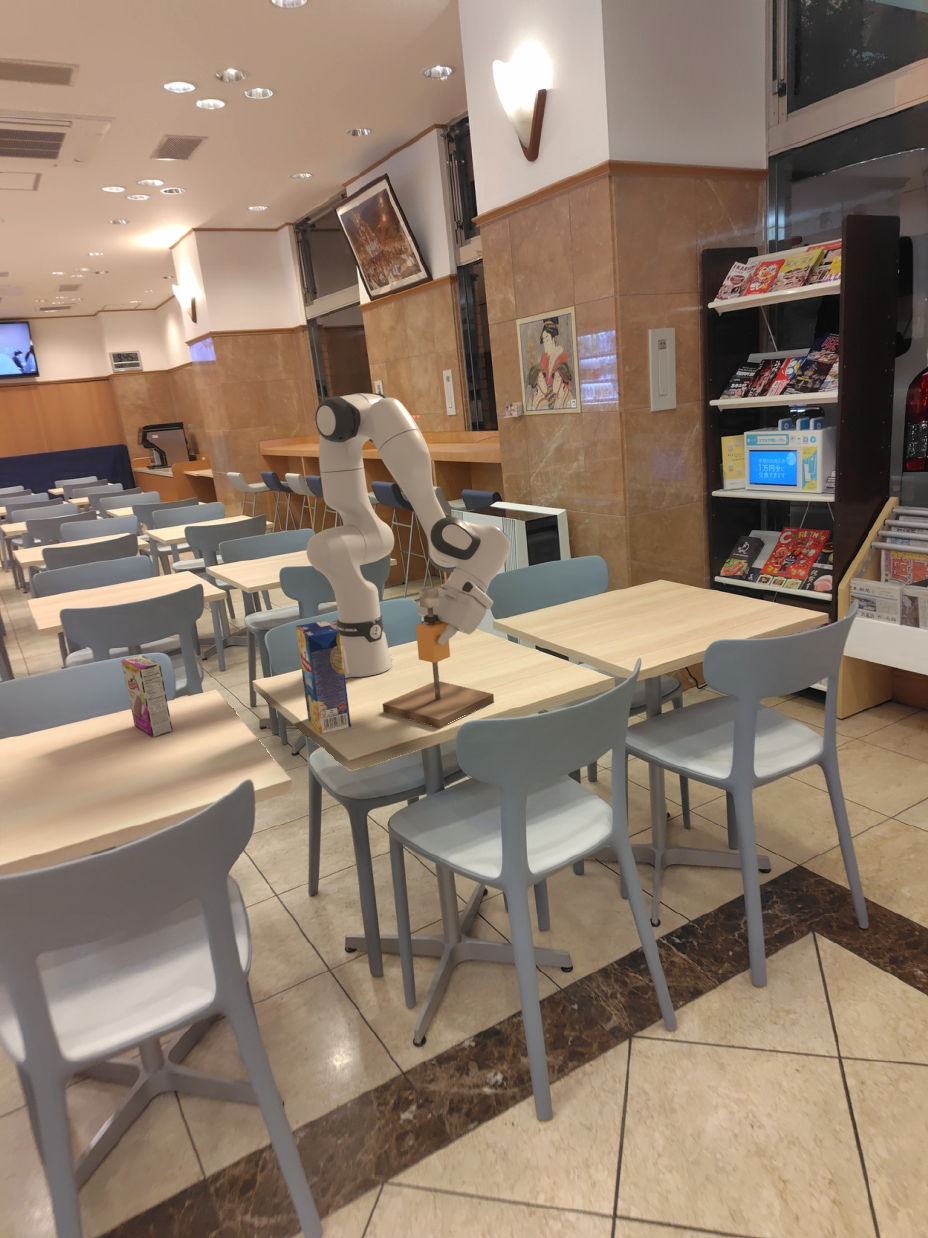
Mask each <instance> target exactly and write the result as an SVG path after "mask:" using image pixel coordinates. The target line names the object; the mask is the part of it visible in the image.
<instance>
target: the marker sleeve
mask: <svg viewBox="0 0 928 1238" xmlns="http://www.w3.org/2000/svg"><path fill="white" fill-rule="evenodd" d="M446 627H447V623H444V622H440V621H436V622H434V625H432V626H431V625H429V623H427V622H424V621H423V622H422V623H418V624H416V625H415V633H416V643H417V652H418V653H417V654H418V660H419V661H424V662H429V663H432V662H433V663H436V662H441V661H444V660H445V659H448V658H450V657H451V653H450V651H451V650H450V641H449V640H450V639H448V640H447V642H446V643H445V645H444V646H442V645H440V644H438V643H437V642H436V641H435V640H436V638H437V637H438V635H439V634H440V635H441V634H442V633H443V632H444V631H445V630H446Z"/></svg>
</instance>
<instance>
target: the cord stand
mask: <svg viewBox="0 0 928 1238" xmlns="http://www.w3.org/2000/svg"><path fill="white" fill-rule="evenodd" d="M438 587H439V586H430V585H429V586H428V585H427V586H425V587H422V588H421V587H420V588H419V589H418V597H419V605H420V607H426V608H427V609H428V615H426V616H424V618H423V623H424V622H427V623H429V625H431V626H432V625H434V622H436V621H438V615H435V614H433V607H435V606H438V605H439V594H438ZM438 662H439V661H438ZM438 662H436V663H433V662H431V664H432V675H433V676H432V677H433V682H430V683H428V684H426V685H423V686H421V687H419V688H416V689H414V690H412V691H410V692H407V693H404V694H403V695H400V696H398V697H395V698H393V699H391V700H388V701H386V702H384V703H382V710H383V711H382V712H383V713H385V712H386V713H385V714H389V713H390V714H389V715H392V714H393V716H396V715H397V716H396V717H399V716H400V718H404V719H406V720H409V719H410V720H409V721H413V720H414V722H416V721H417V723H420V722H421V723H420V724H423V723H425V724H424V725H427V724H428V725H427V726H430V725H432V726H431V727H434V726H435V727H434V728H437V727H438V729H442V728H444V727H446V726H448V725H449V724H448V723H450V722H452V721H454V720H456V719H458V718H460V717H462V716H464V715H466V714H468V713H471V712H473V713H475V712H476V711H475V710H477V711H479V710H481V709H483V708H485V707H487V706H489V705H491V704H493V703H495V699H494V698H495V697H494V696H495V695H494V693H491V692H487V691H482V690H479V689H473V688H470V687H465V686H462V685H459V684H453V683H449V682H444V681H440V676H439V673H440V672H439V663H438ZM480 708H481V709H480ZM478 709H479V710H478ZM474 711H475V712H474ZM471 714H472V713H471ZM462 718H463V717H462ZM460 719H461V718H460ZM458 720H459V719H458ZM456 721H457V720H456ZM454 722H455V721H454ZM452 723H453V722H452ZM447 724H448V725H447ZM450 724H451V723H450ZM445 725H446V726H445ZM443 726H444V727H443Z"/></svg>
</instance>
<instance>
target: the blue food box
mask: <svg viewBox="0 0 928 1238" xmlns="http://www.w3.org/2000/svg"><path fill="white" fill-rule="evenodd" d="M295 628H296V638H297V644H298V651H299V653H298V654H299V659H300V660H299V661H300V666H301V674H302V679H303V680H302V681H303V682H302V683H303V688H304V689H303V690H304V696H305V702H306V703H305V704H306V711H307V712H306V713H307V718H308V720H309V721H310V722H311V723H312V725H313V726H314V727H315V729H316V730H317V731H318V733H320V734H321V735H323V734H326V733H331V732H335V731H338V730H343V729H347V728H351V727H352V724H351V718H350V717H351V716H350V706H349V701H348V700H349V699H348V689H347V681H346V678H345V673H344V664H343V656H342V647H341V639H340V631H339V630H338V629H336V626H335V625H332V624H331V623H330V622H329V621H328V620H322V621H316V622H315V621H314V622H310V623H305V624H304V623H303V624H299V625H296V626H295Z"/></svg>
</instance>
